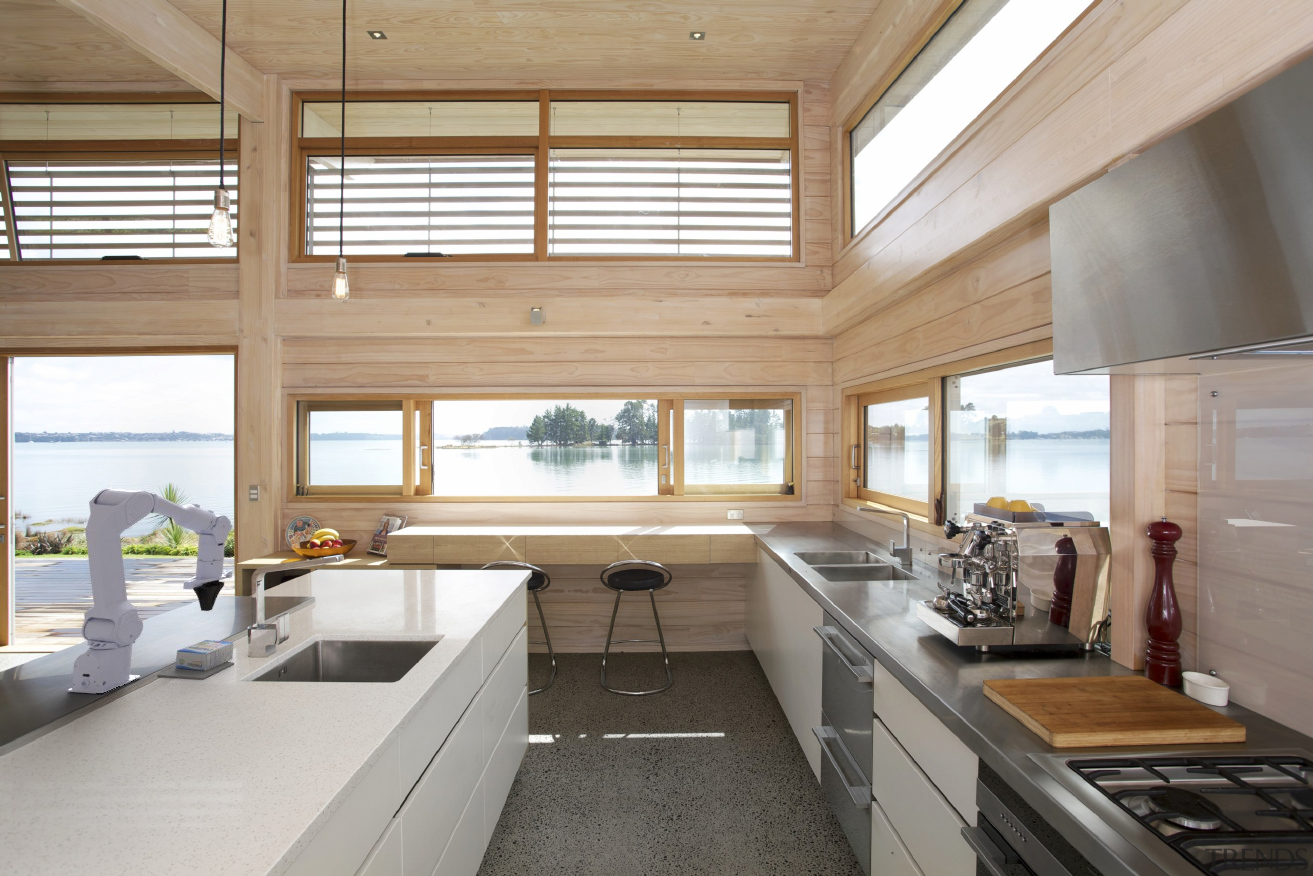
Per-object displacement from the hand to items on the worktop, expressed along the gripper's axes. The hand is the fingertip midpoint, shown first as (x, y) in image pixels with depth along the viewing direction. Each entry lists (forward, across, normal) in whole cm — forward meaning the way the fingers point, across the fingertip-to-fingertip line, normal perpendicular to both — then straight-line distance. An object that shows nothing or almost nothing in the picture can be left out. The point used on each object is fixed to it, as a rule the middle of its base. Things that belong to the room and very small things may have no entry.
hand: (206, 610), depth 158 cm
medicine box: (+8, -6, -9) cm, 13 cm away
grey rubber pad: (+10, -14, -9) cm, 19 cm away
